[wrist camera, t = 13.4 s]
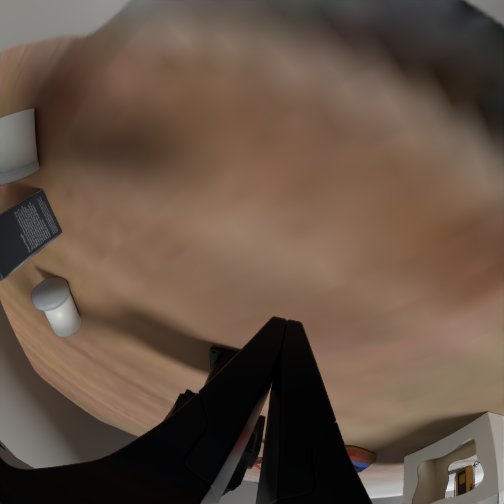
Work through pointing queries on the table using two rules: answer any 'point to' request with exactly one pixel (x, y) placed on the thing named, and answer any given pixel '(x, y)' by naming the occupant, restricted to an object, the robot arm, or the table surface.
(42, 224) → the small box
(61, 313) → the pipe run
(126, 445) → the robot arm
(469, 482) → the multimeter
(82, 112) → the table surface
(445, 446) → the gable box
